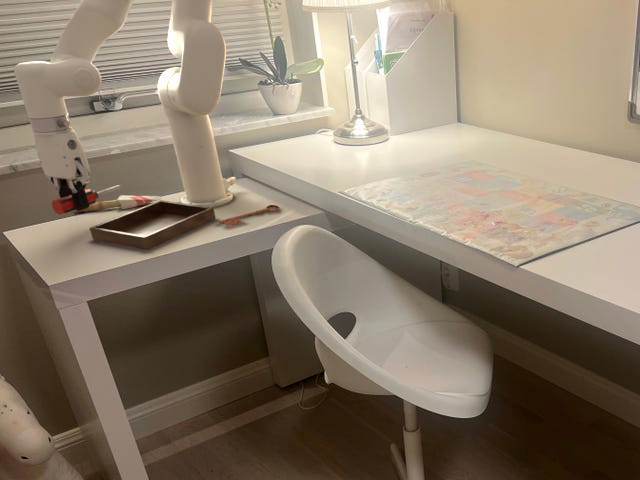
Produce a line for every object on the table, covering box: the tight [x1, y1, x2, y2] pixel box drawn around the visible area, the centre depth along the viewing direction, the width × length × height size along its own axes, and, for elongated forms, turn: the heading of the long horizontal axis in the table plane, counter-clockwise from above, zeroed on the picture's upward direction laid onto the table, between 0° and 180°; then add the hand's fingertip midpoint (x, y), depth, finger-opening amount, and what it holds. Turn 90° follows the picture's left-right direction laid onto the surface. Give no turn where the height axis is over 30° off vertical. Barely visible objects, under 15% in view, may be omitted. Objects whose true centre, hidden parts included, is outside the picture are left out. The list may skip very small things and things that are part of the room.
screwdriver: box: [51, 184, 122, 216], centre depth 167 cm, size 17×3×3 cm, turn 155°
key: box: [218, 204, 281, 227], centre depth 172 cm, size 6×1×15 cm
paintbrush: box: [75, 194, 163, 213], centre depth 180 cm, size 4×3×20 cm
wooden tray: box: [89, 199, 217, 251], centre depth 165 cm, size 21×17×3 cm
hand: (76, 207), depth 164 cm, fingers closed on screwdriver, 3 cm apart
